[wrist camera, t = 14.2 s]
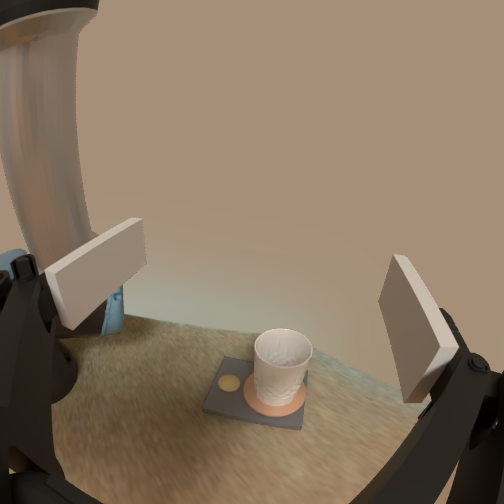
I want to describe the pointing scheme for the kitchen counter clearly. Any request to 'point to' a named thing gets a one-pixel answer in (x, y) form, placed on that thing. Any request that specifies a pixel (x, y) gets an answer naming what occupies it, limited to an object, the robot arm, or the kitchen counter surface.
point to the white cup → (280, 365)
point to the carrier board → (250, 398)
